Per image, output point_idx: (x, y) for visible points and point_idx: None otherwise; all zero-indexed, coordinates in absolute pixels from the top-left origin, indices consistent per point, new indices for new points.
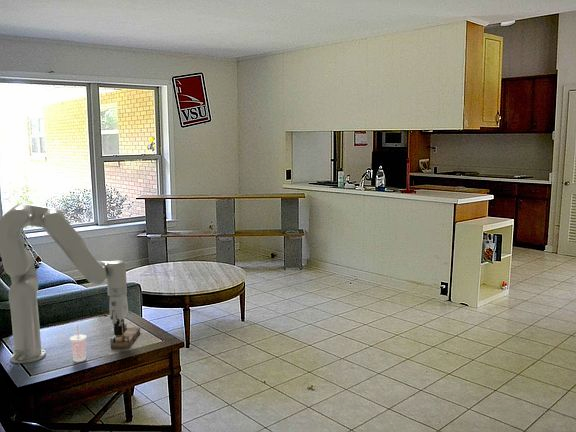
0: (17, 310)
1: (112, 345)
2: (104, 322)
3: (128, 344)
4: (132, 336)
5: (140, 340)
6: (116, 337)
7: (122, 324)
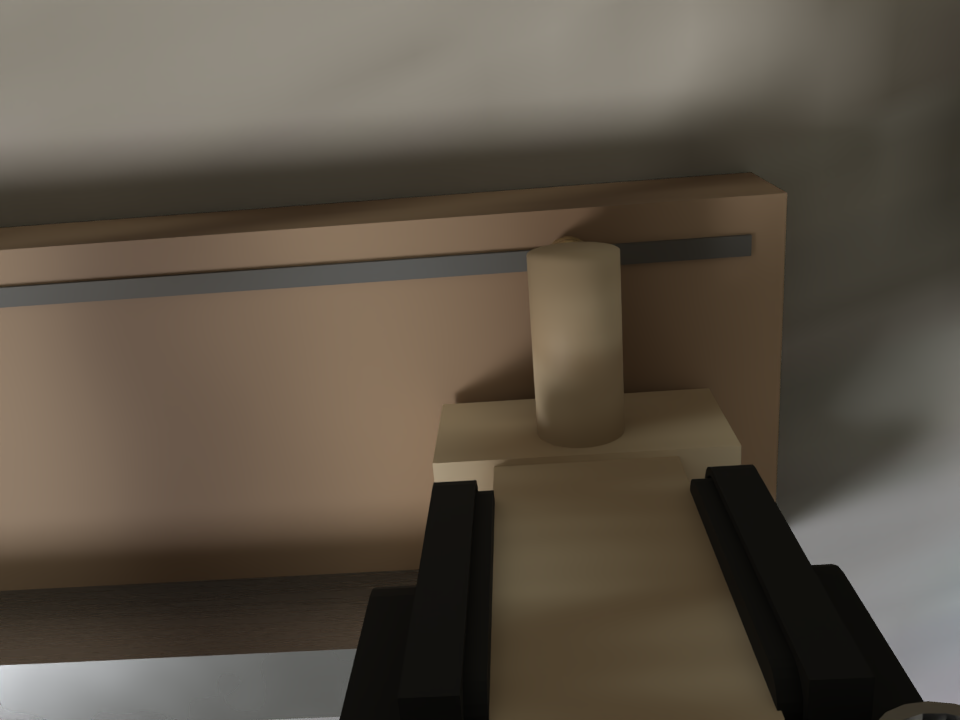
0: None
1: None
2: None
3: (691, 187)
4: (259, 242)
5: (217, 20)
6: None
7: (548, 706)
